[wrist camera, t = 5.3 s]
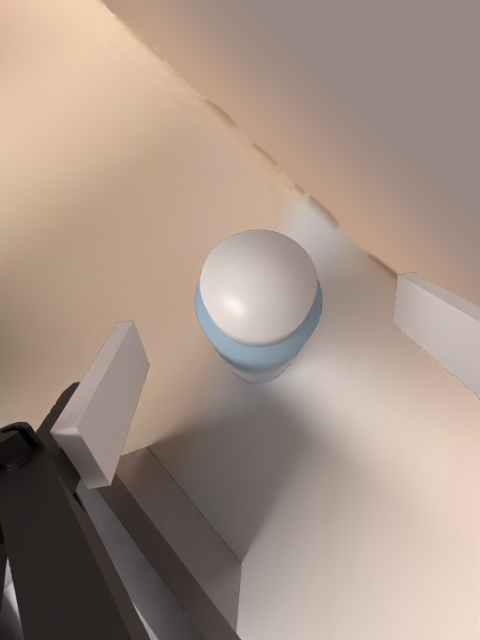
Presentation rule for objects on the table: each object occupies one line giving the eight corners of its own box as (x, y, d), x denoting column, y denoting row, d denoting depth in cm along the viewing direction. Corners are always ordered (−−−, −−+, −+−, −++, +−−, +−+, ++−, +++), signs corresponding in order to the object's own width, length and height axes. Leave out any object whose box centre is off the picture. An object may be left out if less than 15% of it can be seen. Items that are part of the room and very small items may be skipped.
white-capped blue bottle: (208, 347, 21) (156, 281, 10) (257, 301, 22) (257, 194, 11) (257, 398, 20) (258, 386, 9) (306, 347, 21) (363, 279, 10)
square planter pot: (31, 556, 18) (-135, 667, 10) (147, 442, 20) (78, 464, 12) (123, 706, 16) (-1, 989, 8) (246, 563, 17) (239, 688, 10)
